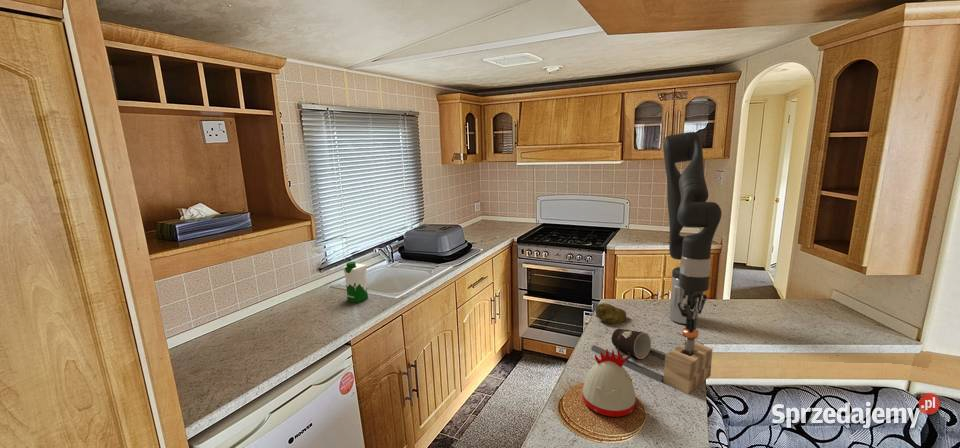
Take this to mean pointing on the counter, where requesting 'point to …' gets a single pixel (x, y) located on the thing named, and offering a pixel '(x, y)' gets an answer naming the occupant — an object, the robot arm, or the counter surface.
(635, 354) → the coffee mug
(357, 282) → the milk carton
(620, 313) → the potato
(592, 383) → the kitchen timer
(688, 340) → the button
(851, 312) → the counter surface
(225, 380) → the counter surface
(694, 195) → the robot arm
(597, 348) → the guide rails
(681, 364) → the hollow wooden block stack
